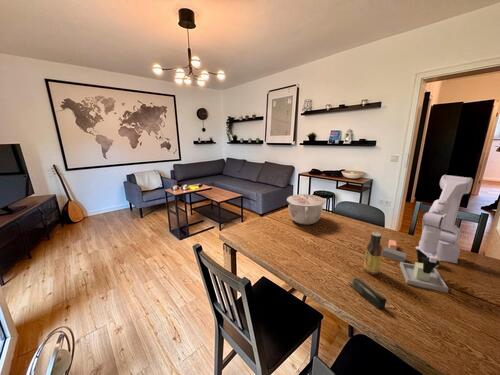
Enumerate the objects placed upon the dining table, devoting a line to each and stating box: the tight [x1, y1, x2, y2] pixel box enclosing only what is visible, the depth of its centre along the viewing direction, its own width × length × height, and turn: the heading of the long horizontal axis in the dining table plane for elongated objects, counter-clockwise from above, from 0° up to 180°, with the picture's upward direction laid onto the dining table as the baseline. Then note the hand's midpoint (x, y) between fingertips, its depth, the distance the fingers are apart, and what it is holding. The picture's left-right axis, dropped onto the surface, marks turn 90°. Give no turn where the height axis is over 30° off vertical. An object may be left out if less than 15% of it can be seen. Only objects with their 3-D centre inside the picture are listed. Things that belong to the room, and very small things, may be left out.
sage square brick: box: [413, 261, 430, 281], centre depth 92 cm, size 4×4×6 cm
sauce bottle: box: [363, 231, 383, 276], centre depth 96 cm, size 7×6×20 cm
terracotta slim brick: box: [387, 239, 398, 250], centre depth 116 cm, size 3×6×4 cm, turn 152°
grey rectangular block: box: [381, 246, 407, 263], centre depth 108 cm, size 5×9×4 cm, turn 41°
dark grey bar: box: [348, 277, 387, 310], centre depth 83 cm, size 5×3×15 cm
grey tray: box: [399, 262, 449, 294], centre depth 92 cm, size 14×14×2 cm
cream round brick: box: [427, 255, 441, 268], centre depth 101 cm, size 5×5×5 cm
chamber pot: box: [286, 193, 326, 225], centre depth 152 cm, size 28×28×21 cm
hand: (423, 267), depth 91 cm, fingers open, 7 cm apart
